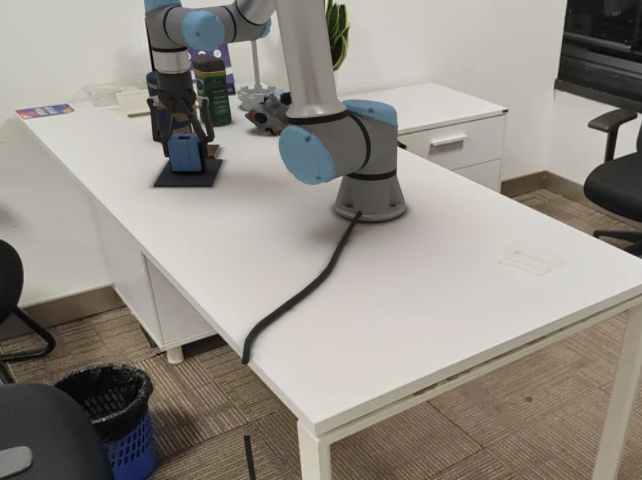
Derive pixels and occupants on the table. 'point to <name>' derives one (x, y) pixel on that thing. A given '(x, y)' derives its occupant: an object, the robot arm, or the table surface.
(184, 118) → the canister
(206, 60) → the coffee jar
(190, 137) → the block
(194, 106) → the stand
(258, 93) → the flag stand
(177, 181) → the mat
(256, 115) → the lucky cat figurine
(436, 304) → the table surface
